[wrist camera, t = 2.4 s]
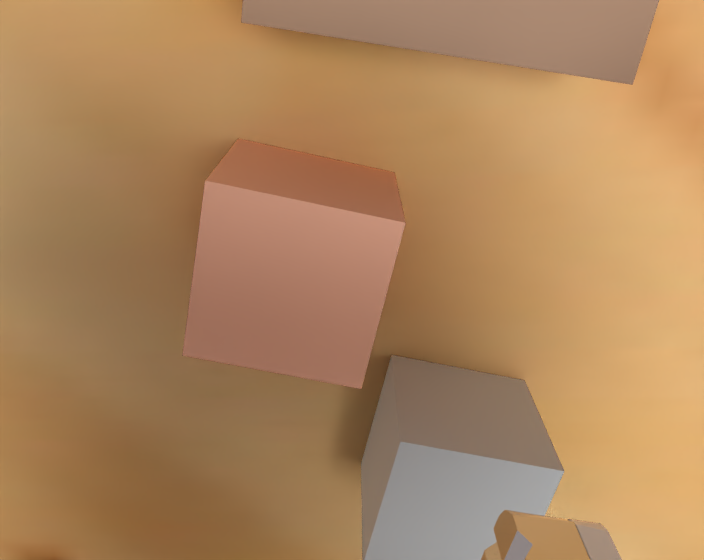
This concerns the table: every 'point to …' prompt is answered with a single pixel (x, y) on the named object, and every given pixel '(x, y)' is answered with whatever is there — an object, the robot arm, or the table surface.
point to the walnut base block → (483, 29)
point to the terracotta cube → (293, 263)
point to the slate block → (450, 462)
